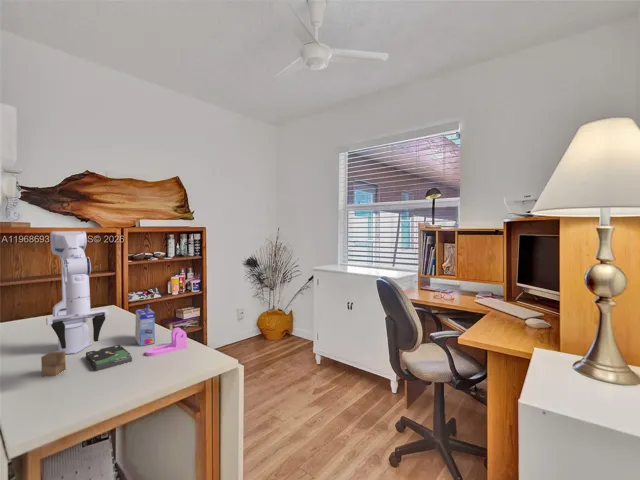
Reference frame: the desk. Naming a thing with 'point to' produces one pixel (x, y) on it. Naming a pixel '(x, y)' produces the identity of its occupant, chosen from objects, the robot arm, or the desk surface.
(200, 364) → the desk surface
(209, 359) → the desk surface
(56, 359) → the walnut block
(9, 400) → the desk surface
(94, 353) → the disk drive
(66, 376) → the desk surface
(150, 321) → the ink cartridge box
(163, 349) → the bracket
